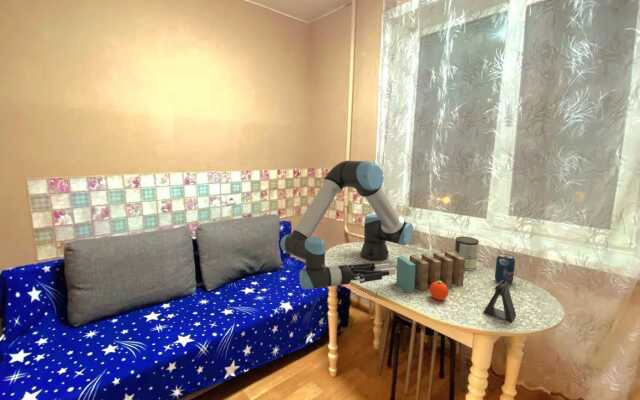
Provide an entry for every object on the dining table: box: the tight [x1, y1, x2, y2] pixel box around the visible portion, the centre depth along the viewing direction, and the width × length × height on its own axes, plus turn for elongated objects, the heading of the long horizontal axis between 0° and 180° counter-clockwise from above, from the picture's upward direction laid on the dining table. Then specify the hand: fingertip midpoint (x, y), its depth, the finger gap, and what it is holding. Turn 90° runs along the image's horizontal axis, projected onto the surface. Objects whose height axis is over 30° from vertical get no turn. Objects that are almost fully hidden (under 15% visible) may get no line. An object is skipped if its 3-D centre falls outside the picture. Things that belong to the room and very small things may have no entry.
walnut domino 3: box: [432, 252, 453, 288], centre depth 132 cm, size 10×2×12 cm, turn 16°
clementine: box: [429, 281, 449, 301], centre depth 118 cm, size 8×7×7 cm
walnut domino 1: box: [409, 254, 429, 292], centre depth 129 cm, size 10×2×12 cm, turn 16°
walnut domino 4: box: [443, 250, 465, 287], centre depth 134 cm, size 10×2×12 cm, turn 16°
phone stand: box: [483, 280, 517, 323], centre depth 106 cm, size 9×6×12 cm, turn 46°
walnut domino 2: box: [420, 253, 441, 287], centre depth 131 cm, size 10×2×12 cm, turn 16°
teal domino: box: [395, 256, 415, 294], centre depth 127 cm, size 10×2×12 cm, turn 15°
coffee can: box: [454, 236, 480, 271], centre depth 149 cm, size 10×10×14 cm
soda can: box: [494, 253, 516, 285], centre depth 133 cm, size 7×7×12 cm
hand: (391, 268), depth 125 cm, fingers open, 4 cm apart
